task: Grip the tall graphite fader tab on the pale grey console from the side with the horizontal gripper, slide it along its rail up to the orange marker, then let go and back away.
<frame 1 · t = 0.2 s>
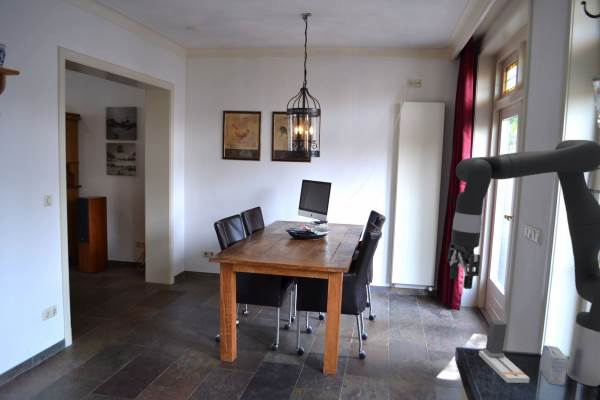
hand: (460, 283, 120), 29 cm above the countertop, tool pointing down, fingers open, 8 cm apart
medicine box: (550, 378, 128), on the countertop
fader tab: (495, 338, 136), point 7 cm above the countertop, slide at 0.0 cm
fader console: (502, 368, 132), on the countertop
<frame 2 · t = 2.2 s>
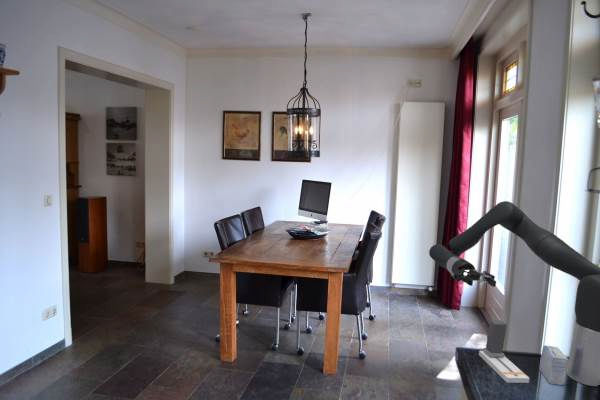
hand: (483, 283, 145), 22 cm above the countertop, tool horizontal, fingers open, 8 cm apart
nothing on the countertop moved.
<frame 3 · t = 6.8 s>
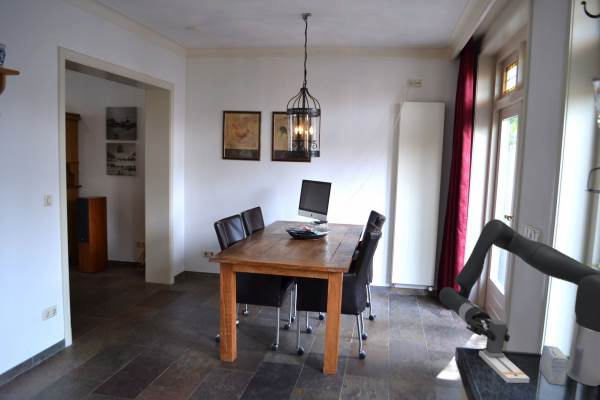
hand: (501, 338, 133), 8 cm above the countertop, tool horizontal, fingers closed on fader tab, 4 cm apart
fader tab: (495, 338, 136), point 7 cm above the countertop, slide at 0.0 cm, touching gripper
everything else where it was.
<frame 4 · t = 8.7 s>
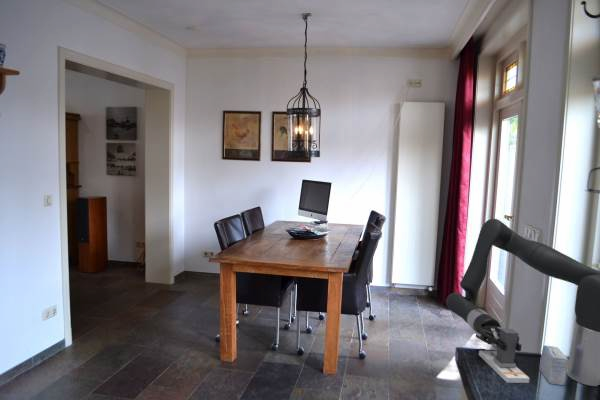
hand: (512, 348, 127), 9 cm above the countertop, tool horizontal, fingers closed on fader tab, 4 cm apart
fader tab: (506, 347, 130), point 7 cm above the countertop, slide at 6.1 cm, touching gripper
everything else where it was.
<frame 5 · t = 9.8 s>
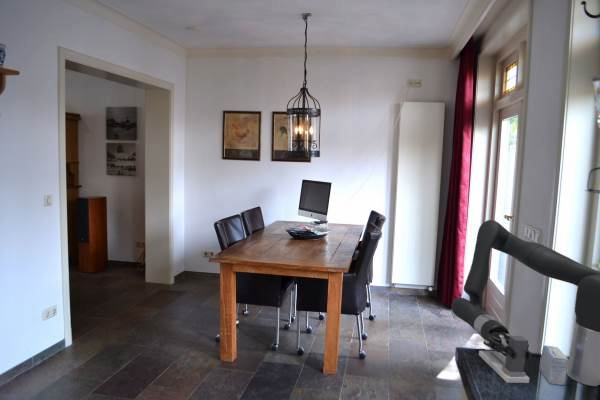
hand: (522, 356, 123), 9 cm above the countertop, tool horizontal, fingers closed on fader tab, 4 cm apart
fader tab: (516, 355, 126), point 7 cm above the countertop, slide at 10.8 cm, touching gripper
everything else where it was.
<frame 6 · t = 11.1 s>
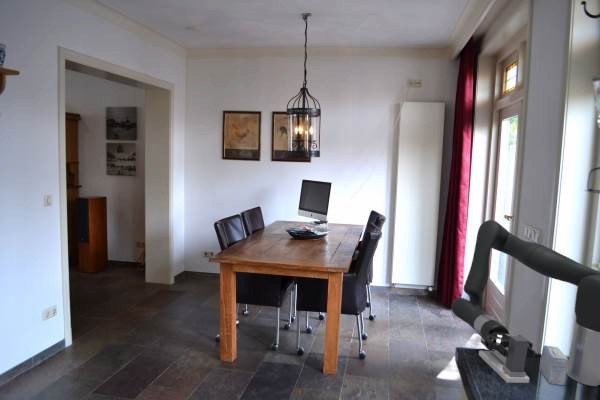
hand: (520, 354, 124), 8 cm above the countertop, tool horizontal, fingers open, 8 cm apart
fader tab: (516, 355, 125), point 7 cm above the countertop, slide at 11.0 cm
everything else where it was.
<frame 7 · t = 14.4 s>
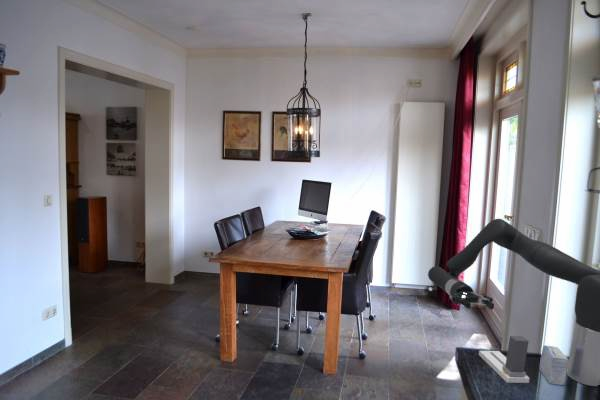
hand: (481, 306, 146), 14 cm above the countertop, tool horizontal, fingers open, 8 cm apart
nothing on the countertop moved.
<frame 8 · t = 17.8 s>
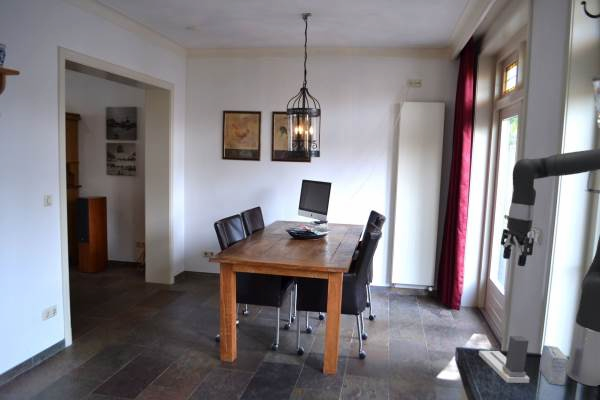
hand: (513, 262, 145), 30 cm above the countertop, tool pointing down, fingers open, 8 cm apart
nothing on the countertop moved.
at the end: fader tab slide at 11.0 cm; the gripper is holding nothing; medicine box moved 0.3 cm from its start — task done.
